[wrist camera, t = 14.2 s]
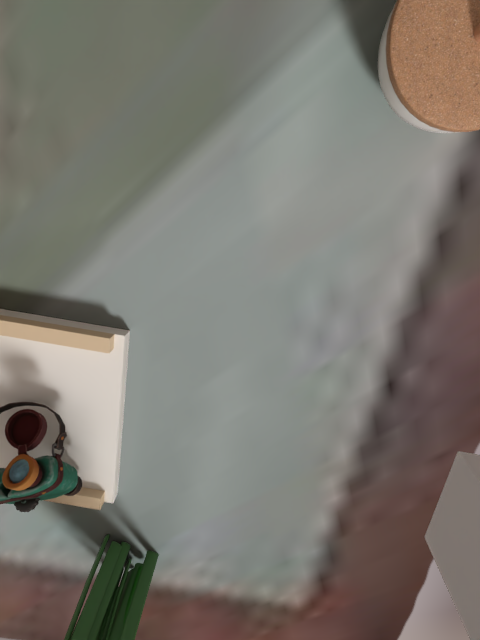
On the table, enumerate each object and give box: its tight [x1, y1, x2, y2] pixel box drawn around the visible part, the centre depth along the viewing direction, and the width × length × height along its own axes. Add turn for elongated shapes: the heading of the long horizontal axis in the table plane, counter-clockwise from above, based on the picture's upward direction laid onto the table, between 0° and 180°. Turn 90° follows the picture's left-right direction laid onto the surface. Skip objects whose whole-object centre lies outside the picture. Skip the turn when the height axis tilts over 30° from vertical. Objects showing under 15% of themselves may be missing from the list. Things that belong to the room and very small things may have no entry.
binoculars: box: [0, 402, 82, 512], centre depth 40 cm, size 9×11×10 cm
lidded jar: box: [378, 0, 480, 133], centre depth 28 cm, size 11×11×9 cm
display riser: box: [0, 309, 130, 510], centre depth 43 cm, size 20×20×3 cm
